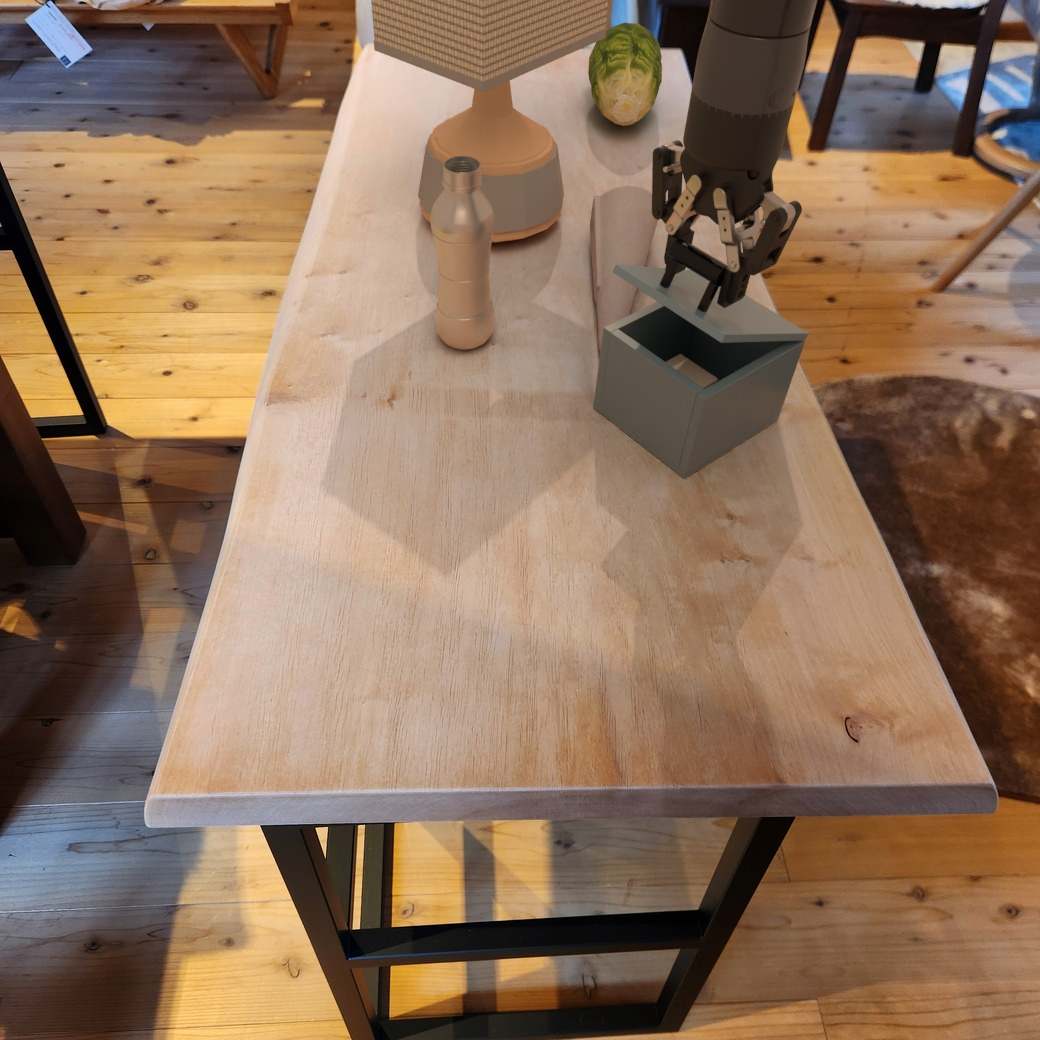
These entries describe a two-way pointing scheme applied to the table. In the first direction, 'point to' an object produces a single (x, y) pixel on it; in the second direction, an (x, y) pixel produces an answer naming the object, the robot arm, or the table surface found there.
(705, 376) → the tan cube
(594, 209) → the beige long cone
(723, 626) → the table surface
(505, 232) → the desk lamp
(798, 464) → the table surface
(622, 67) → the lettuce
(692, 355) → the grey box
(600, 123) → the table surface
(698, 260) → the lid
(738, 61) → the robot arm
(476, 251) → the plastic bottle
